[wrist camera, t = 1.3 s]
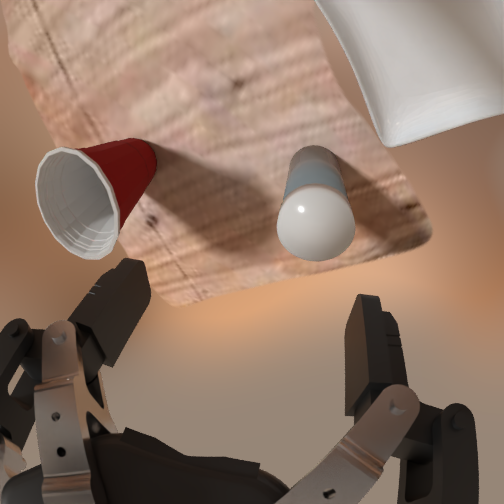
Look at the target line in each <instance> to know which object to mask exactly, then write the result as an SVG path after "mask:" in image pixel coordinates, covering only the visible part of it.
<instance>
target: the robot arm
mask: <svg viewBox="0 0 504 504" xmlns="http://www.w3.org/2000/svg"><path fill="white" fill-rule="evenodd" d="M150 298H151V289H150V285H149V281H148V276H147V272H146V267H145V264H144V262H143V261H141V260H135V259H129V258H124V259H123V260H122V261H121V262H120V263H119V265H118V266H117V267H116V268H115V269H111V270H109V271H108V272H106V273H105V274H103V275H102V276H101V277H100V278H99V280H98V281H97V282H96V283H95V286H93V287H92V288H91V290H90V291H89V294H87V295H86V296H85V297H84V299H83V300H82V301H81V302H80V304H79V305H78V306H77V308H76V309H75V310H74V312H73V313H72V314H71V316H70V317H69V318H68V320H60V321H56V322H54V323H52V324H50V325H49V326H48V327H47V328H46V330H43V329H31V328H30V327H29V325H28V323H27V322H26V321H25V320H24V319H21V318H19V319H14V320H12V321H10V322H9V323H8V324H7V325H6V326H5V327H4V328H3V330H2V331H1V333H0V501H1V504H358V503H359V502H360V500H361V499H362V498H363V497H364V496H365V495H366V493H367V492H368V491H369V490H370V489H371V488H372V486H373V485H374V484H375V483H376V481H377V480H378V479H379V477H380V476H381V474H382V472H383V466H384V465H385V463H386V461H387V460H388V459H389V457H390V456H393V457H396V458H400V478H399V489H398V500H397V504H478V501H479V471H478V451H477V439H476V429H475V421H474V417H473V414H472V412H471V411H470V410H469V409H468V408H467V407H466V406H465V405H463V404H459V403H454V404H451V405H449V406H448V407H446V408H445V409H444V410H442V409H439V408H436V407H433V406H429V405H426V404H424V403H422V402H420V401H419V399H418V397H417V395H416V393H415V392H414V391H413V390H412V389H410V388H409V386H408V382H407V374H406V368H405V362H404V356H403V350H402V348H401V346H402V344H401V339H400V338H399V336H400V334H399V330H398V324H397V322H396V320H395V319H394V317H393V316H392V314H391V313H390V312H384V311H382V308H381V303H380V298H379V297H378V296H373V295H364V294H358V295H357V297H356V300H355V303H354V305H353V308H352V311H351V313H350V316H349V319H348V321H347V324H346V329H345V416H354V426H353V427H352V428H351V429H350V430H349V431H348V433H347V434H346V435H345V436H344V437H343V438H342V439H341V440H340V441H339V442H338V443H337V445H336V446H335V447H334V448H333V449H332V450H331V451H330V452H329V453H328V454H327V455H326V456H325V457H324V458H323V459H322V460H321V461H320V462H319V463H318V464H317V465H316V466H315V467H314V468H313V469H312V470H311V471H310V472H308V473H307V474H306V475H305V476H304V477H303V478H302V479H301V480H300V481H299V482H297V483H296V484H295V485H294V486H293V487H292V488H291V489H289V488H288V487H287V486H286V485H285V484H284V483H283V482H282V481H281V480H279V479H278V478H276V477H275V476H273V475H271V474H269V473H268V472H266V471H263V470H261V469H259V467H260V463H256V462H250V461H244V460H238V459H233V458H228V457H196V456H186V455H183V454H182V453H180V452H178V451H176V450H175V449H173V448H171V447H169V446H168V445H166V444H165V443H163V442H161V441H160V440H158V439H156V438H154V437H152V436H149V435H146V434H143V433H140V432H137V431H134V430H132V429H129V428H127V427H126V428H125V430H124V432H123V433H118V431H117V428H116V426H115V424H114V422H113V420H112V418H111V416H110V413H109V410H108V405H107V400H106V396H105V391H104V387H103V381H102V375H101V372H100V370H99V369H100V368H101V366H102V364H104V365H107V366H110V367H113V366H114V364H115V362H116V361H117V359H118V357H119V355H120V353H121V351H122V350H123V348H124V346H125V344H126V343H127V341H128V339H129V337H130V335H131V334H132V332H133V330H134V329H135V327H136V325H137V323H138V322H139V320H140V318H141V317H142V315H143V313H144V312H145V310H146V308H147V306H148V305H149V302H150ZM19 365H21V366H22V368H23V369H24V372H23V374H22V376H21V378H20V379H19V381H18V383H17V385H16V387H15V389H14V390H13V392H12V394H11V395H9V393H8V384H9V382H10V380H11V379H12V377H13V375H14V373H15V372H16V370H17V368H18V366H19ZM35 420H36V430H37V439H38V447H39V453H40V459H41V464H40V465H38V466H35V467H33V468H31V469H29V470H27V471H24V472H22V473H21V470H24V469H25V468H26V461H25V459H24V458H23V457H22V450H23V447H24V445H25V442H26V440H27V438H28V435H29V433H30V431H31V429H32V426H33V424H34V422H35Z"/></svg>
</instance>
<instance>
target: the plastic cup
mask: <svg viewBox="0 0 504 504" xmlns="http://www.w3.org/2000/svg"><path fill="white" fill-rule="evenodd" d="M156 166H157V160H156V156H155V153H154V151H153V150H152V148H151V147H150V146H149V144H147V143H146V142H144V141H143V140H140V139H135V138H128V139H124V140H120V141H113V142H108V143H104V144H100V145H96V146H92V147H89V148H81V149H72V148H68V147H60V148H57V149H55V150H52V151H50V152H47V154H46V155H45V157H44V158H43V160H42V161H41V163H40V164H39V166H38V170H37V176H36V182H35V186H36V196H37V203H38V206H39V209H40V211H41V214H42V217H43V219H44V222H45V224H46V225H47V227H48V228H49V230H50V231H51V233H52V234H53V236H54V237H55V239H56V240H58V242H59V243H61V244H62V245H63V246H64V247H65V248H66V249H67V250H68V251H69V252H71V253H73V254H75V255H77V256H79V257H82V258H83V259H101V258H102V257H104V256H105V255H107V254H109V253H110V252H111V251H112V249H113V247H114V245H115V243H116V241H117V238H118V236H119V234H120V230H121V228H122V227H123V225H124V223H125V220H126V219H127V217H128V216H129V214H130V213H131V211H132V210H133V208H134V207H135V205H136V204H137V202H138V201H139V199H140V198H141V196H142V195H143V193H144V191H145V189H146V187H147V186H148V185H149V183H150V182H151V180H152V178H153V176H154V174H155V172H156Z"/></svg>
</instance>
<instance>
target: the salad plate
mask: <svg viewBox="0 0 504 504" xmlns="http://www.w3.org/2000/svg"><path fill="white" fill-rule="evenodd" d="M314 1H315V3H316V4H317V6H318V7H319V9H320V10H321V11H322V13H323V15H324V16H325V18H326V20H327V21H328V23H329V25H330V26H331V28H332V30H333V31H334V33H335V35H336V37H337V39H338V41H339V42H340V44H341V46H342V48H343V50H344V52H345V54H346V56H347V58H348V60H349V63H350V65H351V67H352V69H353V71H354V74H355V76H356V79H357V81H358V83H359V86H360V89H361V91H362V94H363V97H364V99H365V102H366V105H367V108H368V111H369V113H370V116H371V119H372V121H373V124H374V126H375V129H376V132H377V134H378V136H379V139H380V140H381V142H382V143H383V144H384V146H386V147H390V148H391V147H398V146H402V145H406V144H409V143H412V142H416V141H419V140H422V139H424V138H427V137H430V136H433V135H436V134H439V133H442V132H445V131H448V130H451V129H454V128H456V127H460V126H463V125H466V124H469V123H472V122H476V121H479V120H482V119H486V118H490V117H494V116H498V115H502V114H504V0H314Z"/></svg>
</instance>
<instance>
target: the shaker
mask: <svg viewBox="0 0 504 504" xmlns="http://www.w3.org/2000/svg"><path fill="white" fill-rule="evenodd" d="M277 233H278V237H279V239H280V241H281V243H282V245H283V246H284V247H285V248H286V249H287V250H288V251H289V252H290V253H291V254H293V255H294V256H296V257H298V258H301V259H304V260H308V261H325V260H329V259H332V258H334V257H336V256H338V255H340V254H341V253H343V252H344V251H345V250H346V249H347V248H348V247H349V245H350V244H351V242H352V240H353V238H354V235H355V221H354V216H353V212H352V208H351V205H350V203H349V201H348V197H347V193H346V189H345V185H344V181H343V178H342V174H341V170H340V167H339V163H338V160H337V158H336V157H335V155H334V154H333V153H332V152H331V151H330V150H328V149H326V148H324V147H321V146H314V145H313V146H307V147H304V148H302V149H300V150H299V151H298V152H296V153H295V155H294V156H293V158H292V160H291V163H290V167H289V173H288V178H287V183H286V188H285V193H284V198H283V202H282V204H281V207H280V211H279V216H278V221H277Z"/></svg>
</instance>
